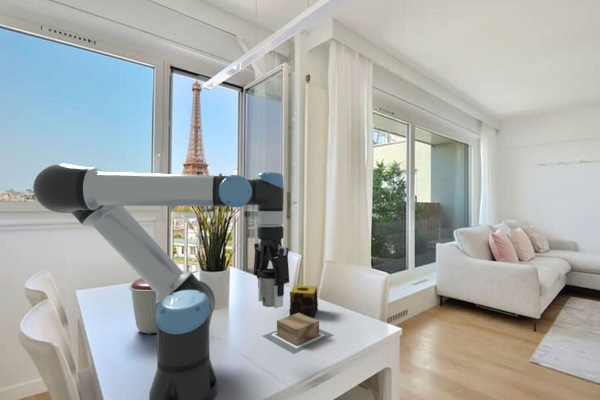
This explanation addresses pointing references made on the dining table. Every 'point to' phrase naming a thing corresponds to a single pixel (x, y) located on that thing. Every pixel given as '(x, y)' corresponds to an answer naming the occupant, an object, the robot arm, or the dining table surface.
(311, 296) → the candle
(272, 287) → the coffee cup
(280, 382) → the dining table surface
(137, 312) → the canister
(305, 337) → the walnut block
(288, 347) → the gray placemat
